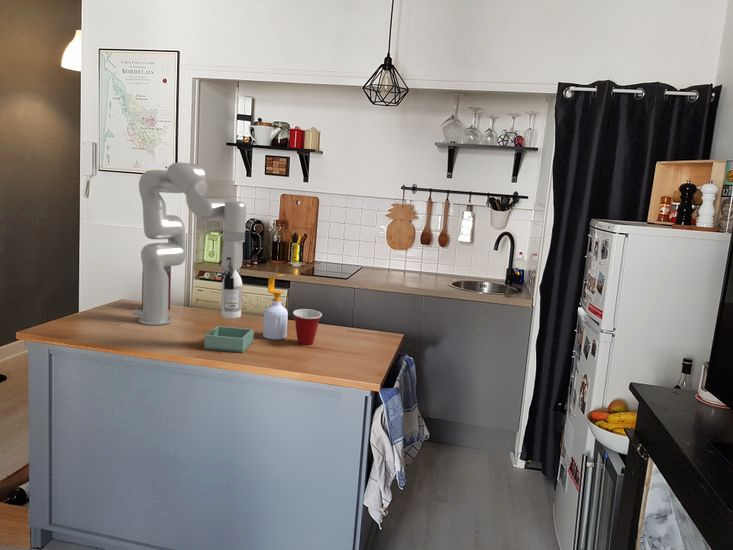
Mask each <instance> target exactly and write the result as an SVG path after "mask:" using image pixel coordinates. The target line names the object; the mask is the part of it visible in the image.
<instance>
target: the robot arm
mask: <svg viewBox="0 0 733 550" xmlns="http://www.w3.org/2000/svg"><path fill="white" fill-rule="evenodd" d="M206 179H207V174H206V170H205V169H204V168H203V166H201V165H200V164H199V163H198V164H197V163H193V162H192V163H191V162H190V163H189V162H174V163H171V164H170V165H169V166H168V167H167V169H165V170H163V169H162V170H161V169H150V170H147V171H145V172H143V173H142V174H141V175H140V177H139V181H138V191H139V194H140V195H139V196H140V198H141V199H140V200H141V203H142V218H143V219H142V221H143V231H144V236H145V237H146V238H147V239H150V240H167V242H152V243H148V244H146V245H144V246H143V247H142V249H141V250H140V251H141V252H140V259H141V264H142V265H141V266H142V271H143V310H142V309H134V310H133V316H139V318H138V323H140V324H142V325H147V326H148V325H149V326H160V325H161V326H162V325H167V324H171V323H172V322H173V318H172V317H171V316H169V310H168V294H169V278H168V275H167V273H166V271H165V270H164V267H166V266H171V267H175V266H181V265H182V264H183V263H184V262H185V260H186V258H187V257H186V254H187V249H186V228H185V223H184V222H183V220H182V219H181V218H180V217H179V216H178V215H173V214H171V215H170V214H167V205H166V202H165V200H164V198H163V196H162V195H161V194H160V193H165V194H169V193H170V194H184V195H185V201H186V205H187V208H188V209H189V211H190V212H192V213H193V215H195V216H196V217H197V218H199V219H201V220H203V221H207V222H208V221H223V223H222V241H223V244H222V245H223V246H222V252H221V264H220V265H221V266H220V268H221V270H224V275H223V279H224V289H231V290H232V289H233V288H234V278H233V274H234V270H236V269H237V272H238V274H239V275H241V273H242V272H241V268H242V266H243V259H244V257H243V253H244V252H243V246H244V245H243V243H245V240H246V220H247V219H246V217H247V215H246V213H247V205H246V203H245V202H244V201H237V200H236V201H235V200H232V199H226V198H206V197H204V196H205V194H206V193H207V190H208V184H207V182H206ZM229 268H232V269H229ZM230 271H231V272H230Z"/></svg>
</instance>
